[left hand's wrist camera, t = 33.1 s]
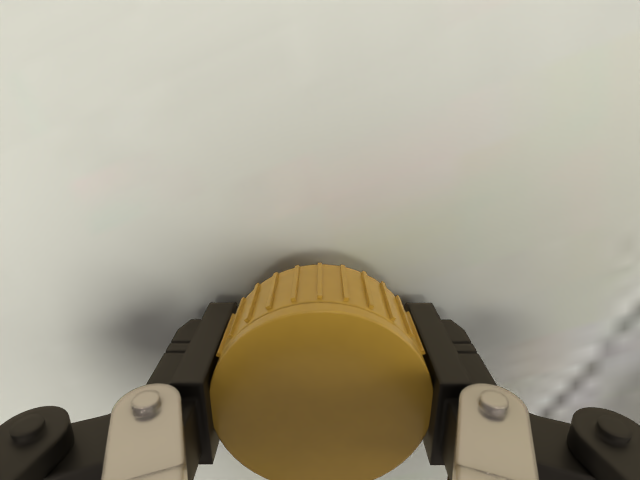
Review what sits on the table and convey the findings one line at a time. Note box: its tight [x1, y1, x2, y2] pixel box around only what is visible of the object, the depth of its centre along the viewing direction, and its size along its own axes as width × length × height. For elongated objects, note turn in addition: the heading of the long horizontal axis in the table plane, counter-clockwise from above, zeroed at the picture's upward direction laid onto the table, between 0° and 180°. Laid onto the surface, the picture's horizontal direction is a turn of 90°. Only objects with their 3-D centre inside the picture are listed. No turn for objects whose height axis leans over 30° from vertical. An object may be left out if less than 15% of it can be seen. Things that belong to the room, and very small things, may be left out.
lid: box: [210, 263, 433, 480], centre depth 10 cm, size 5×5×2 cm
